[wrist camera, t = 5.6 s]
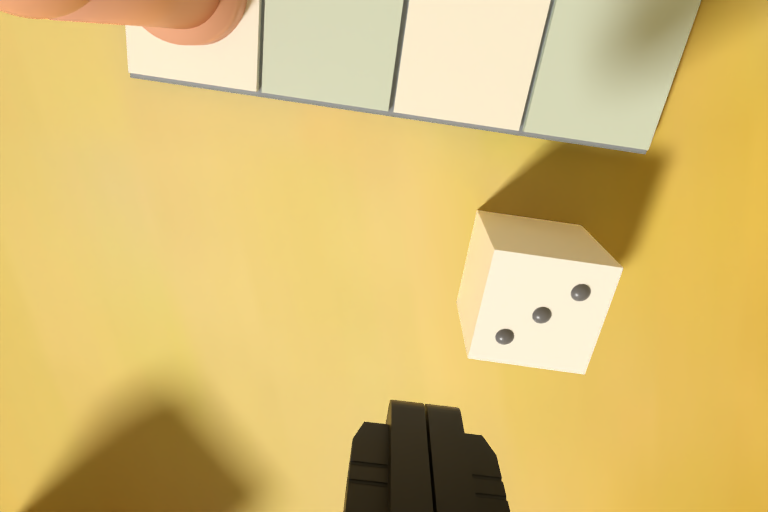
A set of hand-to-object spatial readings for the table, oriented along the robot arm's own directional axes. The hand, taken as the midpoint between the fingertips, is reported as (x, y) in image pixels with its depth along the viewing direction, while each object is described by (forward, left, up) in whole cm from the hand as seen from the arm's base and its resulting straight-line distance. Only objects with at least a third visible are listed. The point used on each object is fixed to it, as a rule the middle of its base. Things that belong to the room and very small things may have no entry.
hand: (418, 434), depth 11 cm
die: (+5, 0, -12) cm, 13 cm away
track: (-2, +9, -12) cm, 15 cm away
